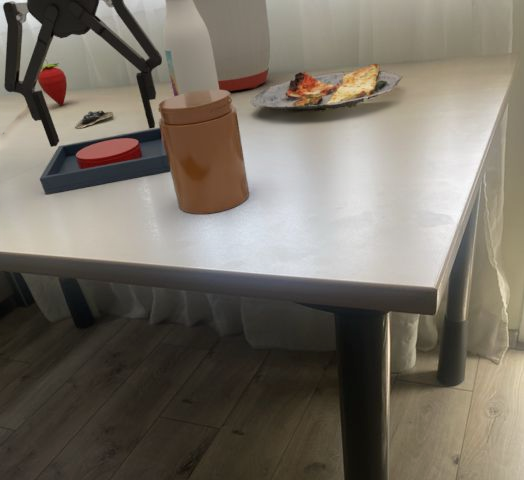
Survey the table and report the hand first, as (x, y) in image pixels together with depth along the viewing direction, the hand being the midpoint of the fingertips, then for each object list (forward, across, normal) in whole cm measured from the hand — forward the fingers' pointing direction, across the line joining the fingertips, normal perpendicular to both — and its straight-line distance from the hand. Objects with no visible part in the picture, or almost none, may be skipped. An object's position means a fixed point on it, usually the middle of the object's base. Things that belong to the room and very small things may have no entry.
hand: (104, 135), depth 73 cm
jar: (+4, +13, -21) cm, 25 cm away
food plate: (+4, +35, +14) cm, 38 cm away
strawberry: (+4, -16, +55) cm, 57 cm away
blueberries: (+4, -6, +31) cm, 32 cm away
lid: (+2, 0, 0) cm, 2 cm away
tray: (+4, 0, 0) cm, 4 cm away
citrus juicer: (+4, +22, +40) cm, 46 cm away
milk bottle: (+4, +14, +20) cm, 25 cm away
